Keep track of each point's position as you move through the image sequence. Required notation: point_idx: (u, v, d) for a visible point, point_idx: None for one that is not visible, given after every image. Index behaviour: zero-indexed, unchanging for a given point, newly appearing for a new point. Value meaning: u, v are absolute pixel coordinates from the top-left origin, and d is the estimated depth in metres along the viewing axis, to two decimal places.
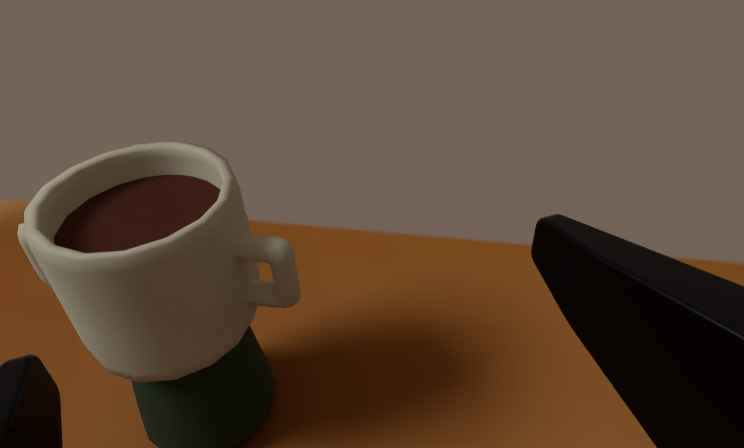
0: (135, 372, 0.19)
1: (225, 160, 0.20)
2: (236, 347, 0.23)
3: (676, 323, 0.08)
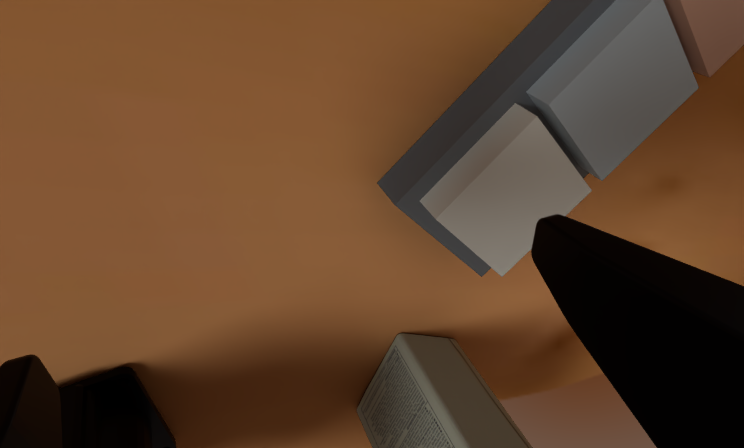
0: None
1: None
2: None
3: (676, 323, 0.08)
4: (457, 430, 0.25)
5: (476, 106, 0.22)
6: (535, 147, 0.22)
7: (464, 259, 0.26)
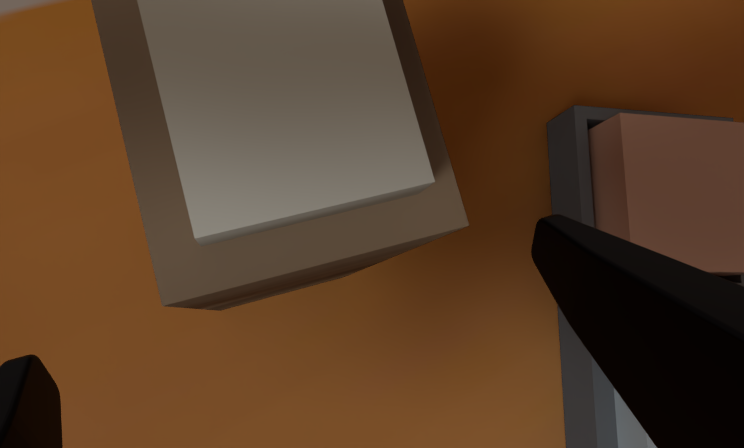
0: None
1: None
2: None
3: (676, 323, 0.08)
4: None
5: None
6: None
7: None
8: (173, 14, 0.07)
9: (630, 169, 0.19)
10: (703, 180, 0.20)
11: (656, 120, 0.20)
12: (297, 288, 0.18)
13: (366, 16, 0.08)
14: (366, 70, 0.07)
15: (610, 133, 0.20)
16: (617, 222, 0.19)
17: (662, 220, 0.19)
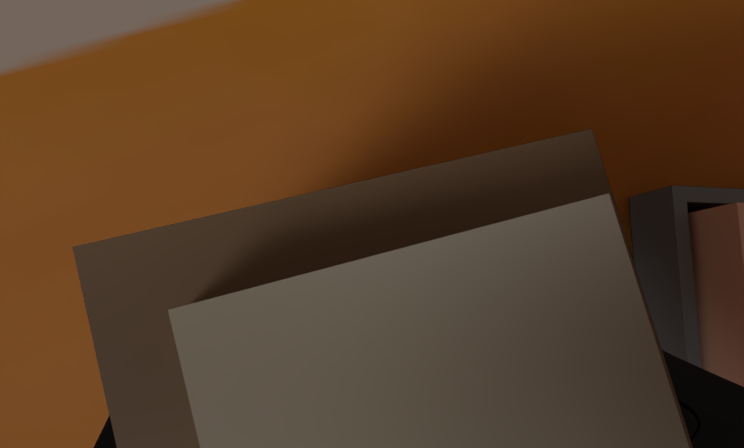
0: None
1: None
2: None
3: None
4: None
5: None
6: None
7: None
8: (246, 341, 0.03)
9: None
10: None
11: None
12: None
13: (603, 298, 0.04)
14: (612, 411, 0.04)
15: (721, 225, 0.16)
16: (733, 337, 0.16)
17: None
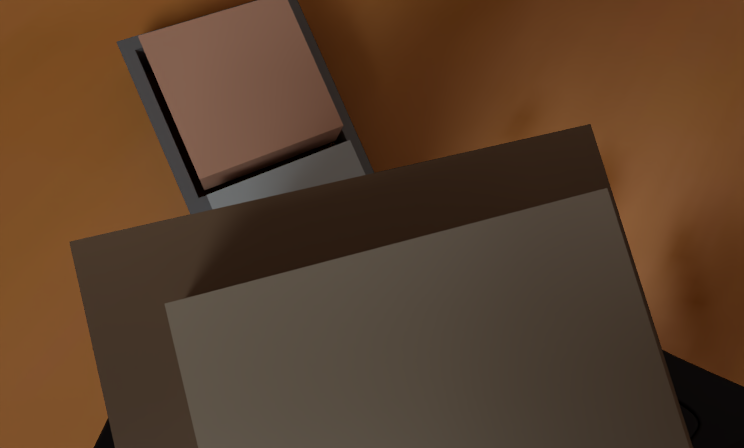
0: None
1: None
2: None
3: None
4: None
5: None
6: None
7: None
8: (244, 335, 0.03)
9: (166, 86, 0.19)
10: (248, 66, 0.20)
11: (180, 28, 0.20)
12: None
13: (603, 291, 0.04)
14: (610, 406, 0.04)
15: None
16: None
17: (216, 120, 0.19)
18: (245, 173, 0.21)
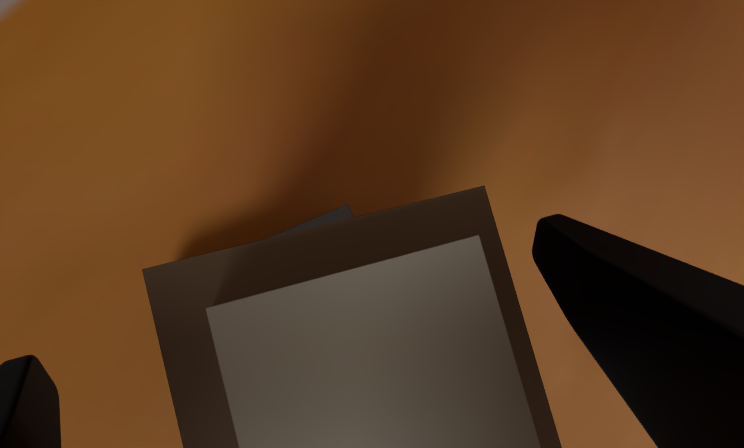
0: None
1: None
2: None
3: (677, 323, 0.08)
4: None
5: None
6: None
7: None
8: (251, 326, 0.06)
9: None
10: None
11: None
12: None
13: (473, 300, 0.06)
14: (475, 370, 0.06)
15: None
16: None
17: None
18: None
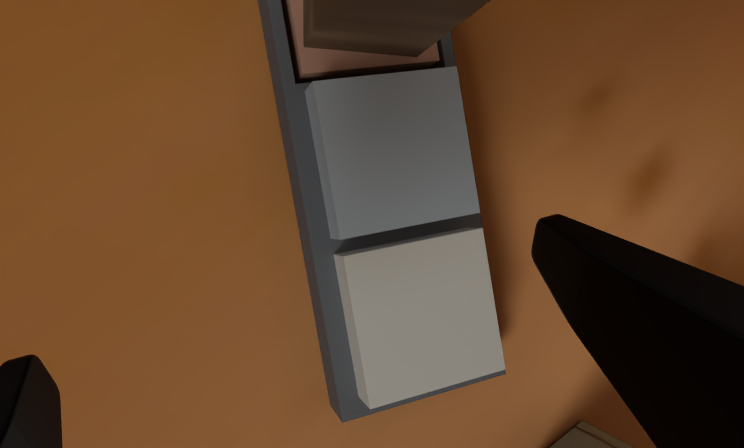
0: None
1: None
2: None
3: (676, 323, 0.08)
4: None
5: (314, 286, 0.21)
6: (377, 271, 0.20)
7: (467, 382, 0.22)
8: None
9: None
10: None
11: None
12: (384, 40, 0.19)
13: None
14: None
15: None
16: (291, 31, 0.21)
17: None
18: None
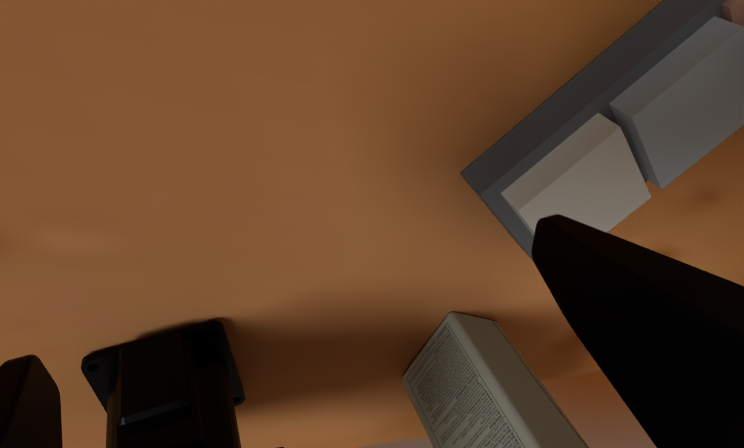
0: None
1: None
2: None
3: (676, 323, 0.08)
4: (509, 402, 0.28)
5: (562, 112, 0.25)
6: (613, 154, 0.24)
7: (527, 249, 0.28)
8: None
9: None
10: None
11: None
12: None
13: None
14: None
15: None
16: None
17: None
18: None
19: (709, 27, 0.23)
